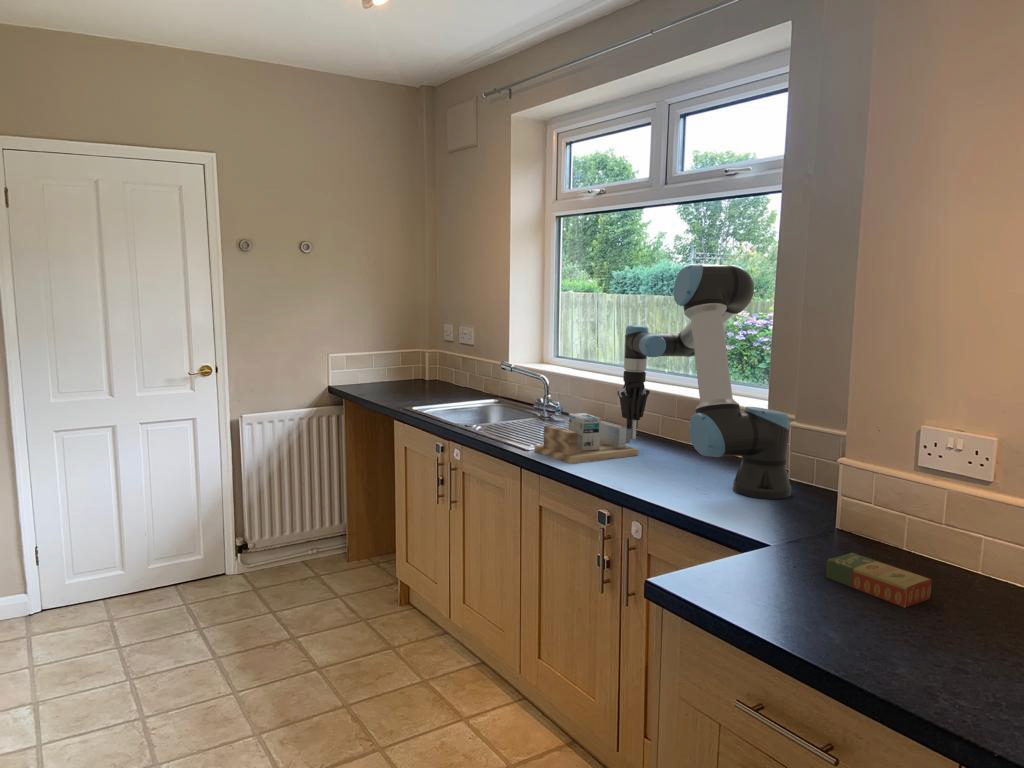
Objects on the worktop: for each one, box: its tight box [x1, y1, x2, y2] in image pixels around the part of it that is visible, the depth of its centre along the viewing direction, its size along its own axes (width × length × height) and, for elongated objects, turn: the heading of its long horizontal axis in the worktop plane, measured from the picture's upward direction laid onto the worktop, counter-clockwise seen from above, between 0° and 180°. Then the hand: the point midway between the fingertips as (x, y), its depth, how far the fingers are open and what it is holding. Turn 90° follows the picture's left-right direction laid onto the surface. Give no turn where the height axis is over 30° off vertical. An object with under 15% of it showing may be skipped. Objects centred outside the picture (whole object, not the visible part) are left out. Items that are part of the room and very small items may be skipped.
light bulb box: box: [568, 412, 602, 451], centre depth 247 cm, size 11×7×11 cm, turn 24°
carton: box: [825, 552, 932, 608], centre depth 140 cm, size 8×16×4 cm, turn 32°
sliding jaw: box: [600, 420, 631, 449], centre depth 254 cm, size 14×10×7 cm
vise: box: [533, 424, 639, 465], centre depth 247 cm, size 20×28×9 cm
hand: (631, 438), depth 258 cm, fingers closed
